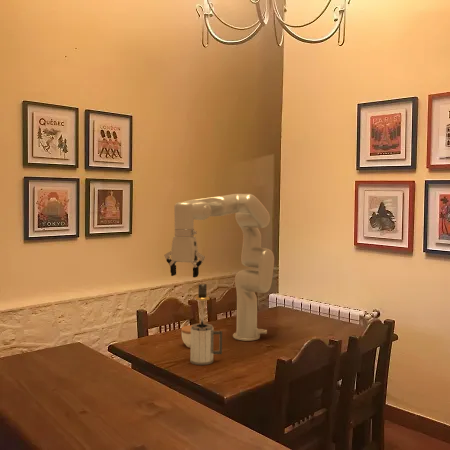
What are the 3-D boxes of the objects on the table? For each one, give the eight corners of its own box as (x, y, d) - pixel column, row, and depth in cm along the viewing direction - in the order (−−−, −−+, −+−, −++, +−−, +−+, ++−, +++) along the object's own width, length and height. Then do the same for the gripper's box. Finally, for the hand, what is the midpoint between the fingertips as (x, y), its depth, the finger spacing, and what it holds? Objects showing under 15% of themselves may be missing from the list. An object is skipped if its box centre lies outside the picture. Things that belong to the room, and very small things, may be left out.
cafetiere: (220, 357, 204) (221, 322, 204) (222, 364, 195) (223, 328, 194) (190, 357, 203) (190, 323, 203) (190, 365, 194) (190, 329, 193)
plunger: (209, 333, 202) (210, 283, 201) (210, 337, 196) (211, 286, 194) (193, 333, 201) (194, 283, 200) (194, 337, 195) (194, 286, 194)
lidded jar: (202, 350, 213) (202, 328, 213) (178, 348, 216) (178, 326, 215) (208, 343, 224) (208, 322, 223) (184, 341, 226) (185, 320, 226)
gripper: (207, 233, 198) (208, 276, 200) (169, 231, 205) (169, 273, 206) (200, 235, 191) (200, 279, 193) (160, 233, 198) (160, 276, 199)
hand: (184, 276), depth 199 cm, fingers open, 9 cm apart
